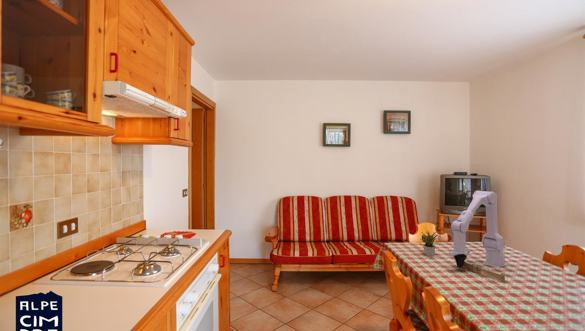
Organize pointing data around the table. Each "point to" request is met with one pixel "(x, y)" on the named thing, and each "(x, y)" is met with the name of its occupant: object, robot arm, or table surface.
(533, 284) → the table surface
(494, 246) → the robot arm
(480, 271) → the fence fixed
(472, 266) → the fence panel
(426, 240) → the house plant
